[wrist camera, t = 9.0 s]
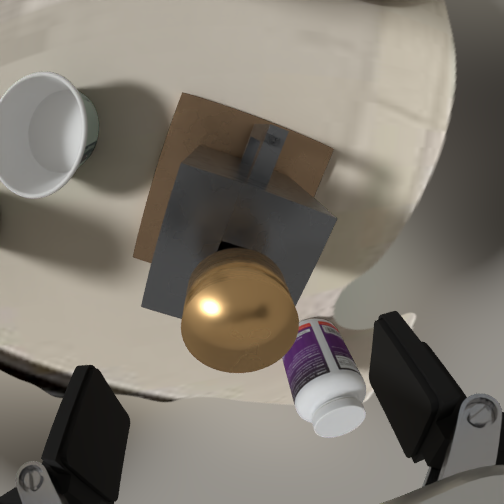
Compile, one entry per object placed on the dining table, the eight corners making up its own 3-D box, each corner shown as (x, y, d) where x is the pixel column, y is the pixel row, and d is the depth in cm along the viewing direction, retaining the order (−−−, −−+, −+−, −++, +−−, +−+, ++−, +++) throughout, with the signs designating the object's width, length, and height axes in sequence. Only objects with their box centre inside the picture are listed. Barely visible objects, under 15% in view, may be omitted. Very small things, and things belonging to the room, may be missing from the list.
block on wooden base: (183, 93, 28) (148, 67, 14) (330, 148, 31) (411, 173, 17) (134, 253, 34) (86, 340, 20) (267, 293, 37) (293, 391, 23)
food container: (126, 89, 27) (104, 82, 21) (94, 197, 31) (69, 214, 25) (37, 71, 24) (5, 65, 18) (13, 170, 28) (-20, 182, 22)
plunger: (208, 163, 29) (184, 236, 11) (270, 184, 31) (344, 285, 12) (188, 223, 32) (149, 365, 13) (247, 242, 33) (280, 394, 14)
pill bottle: (279, 364, 42) (299, 450, 29) (278, 318, 39) (302, 407, 26) (334, 356, 43) (368, 434, 30) (340, 310, 40) (384, 390, 26)
